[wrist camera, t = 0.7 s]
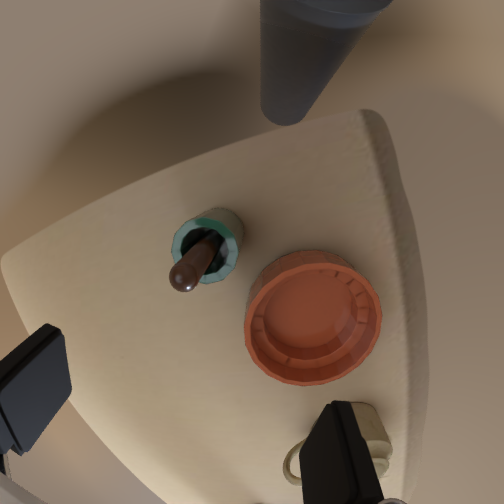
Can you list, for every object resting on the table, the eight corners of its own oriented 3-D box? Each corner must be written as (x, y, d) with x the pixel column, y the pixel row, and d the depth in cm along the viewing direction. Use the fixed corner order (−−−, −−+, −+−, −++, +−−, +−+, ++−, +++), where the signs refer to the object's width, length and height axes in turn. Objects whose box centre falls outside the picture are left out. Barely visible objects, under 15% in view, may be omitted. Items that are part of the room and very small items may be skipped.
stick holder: (201, 202, 31) (179, 210, 23) (249, 214, 31) (245, 227, 23) (190, 249, 33) (166, 273, 24) (237, 261, 33) (228, 290, 24)
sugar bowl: (303, 459, 41) (311, 528, 26) (277, 427, 39) (281, 507, 24) (383, 428, 39) (410, 493, 24) (368, 390, 37) (402, 465, 22)
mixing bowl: (265, 234, 32) (266, 245, 26) (380, 265, 32) (401, 282, 27) (234, 343, 35) (230, 372, 29) (339, 364, 36) (350, 392, 30)
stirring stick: (212, 223, 31) (168, 262, 16) (228, 227, 31) (198, 271, 16) (208, 239, 32) (163, 292, 16) (224, 243, 32) (192, 300, 16)
